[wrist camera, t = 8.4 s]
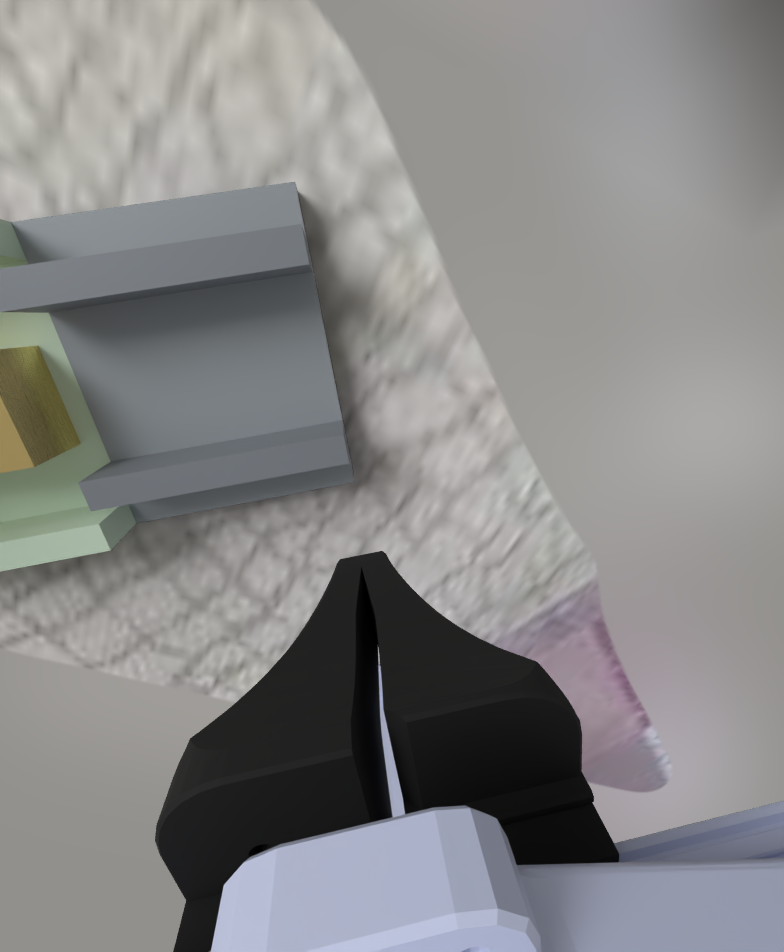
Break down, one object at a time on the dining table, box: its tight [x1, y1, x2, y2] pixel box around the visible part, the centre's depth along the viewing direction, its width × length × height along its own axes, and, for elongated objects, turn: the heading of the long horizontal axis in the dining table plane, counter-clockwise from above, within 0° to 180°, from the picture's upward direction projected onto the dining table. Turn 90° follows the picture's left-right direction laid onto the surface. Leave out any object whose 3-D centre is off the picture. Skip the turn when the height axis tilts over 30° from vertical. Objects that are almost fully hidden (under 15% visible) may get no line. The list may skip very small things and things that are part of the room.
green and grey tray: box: [0, 182, 355, 572], centre depth 17 cm, size 12×20×4 cm, turn 99°
